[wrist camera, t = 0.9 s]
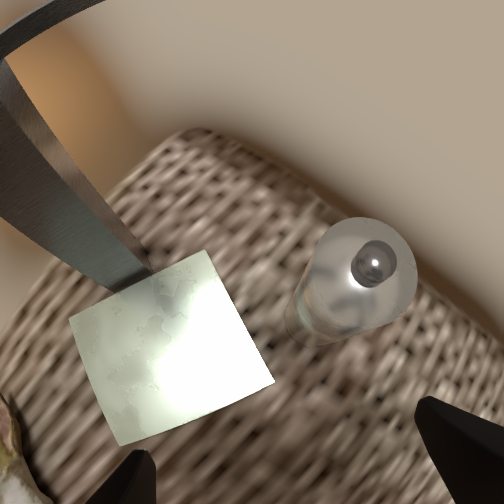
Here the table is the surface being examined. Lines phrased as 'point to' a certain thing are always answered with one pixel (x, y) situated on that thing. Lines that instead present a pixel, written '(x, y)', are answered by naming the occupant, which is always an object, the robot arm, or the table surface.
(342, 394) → the table surface
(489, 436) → the robot arm
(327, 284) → the cocktail shaker
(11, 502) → the ceramic sculpture
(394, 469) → the table surface
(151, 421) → the press
